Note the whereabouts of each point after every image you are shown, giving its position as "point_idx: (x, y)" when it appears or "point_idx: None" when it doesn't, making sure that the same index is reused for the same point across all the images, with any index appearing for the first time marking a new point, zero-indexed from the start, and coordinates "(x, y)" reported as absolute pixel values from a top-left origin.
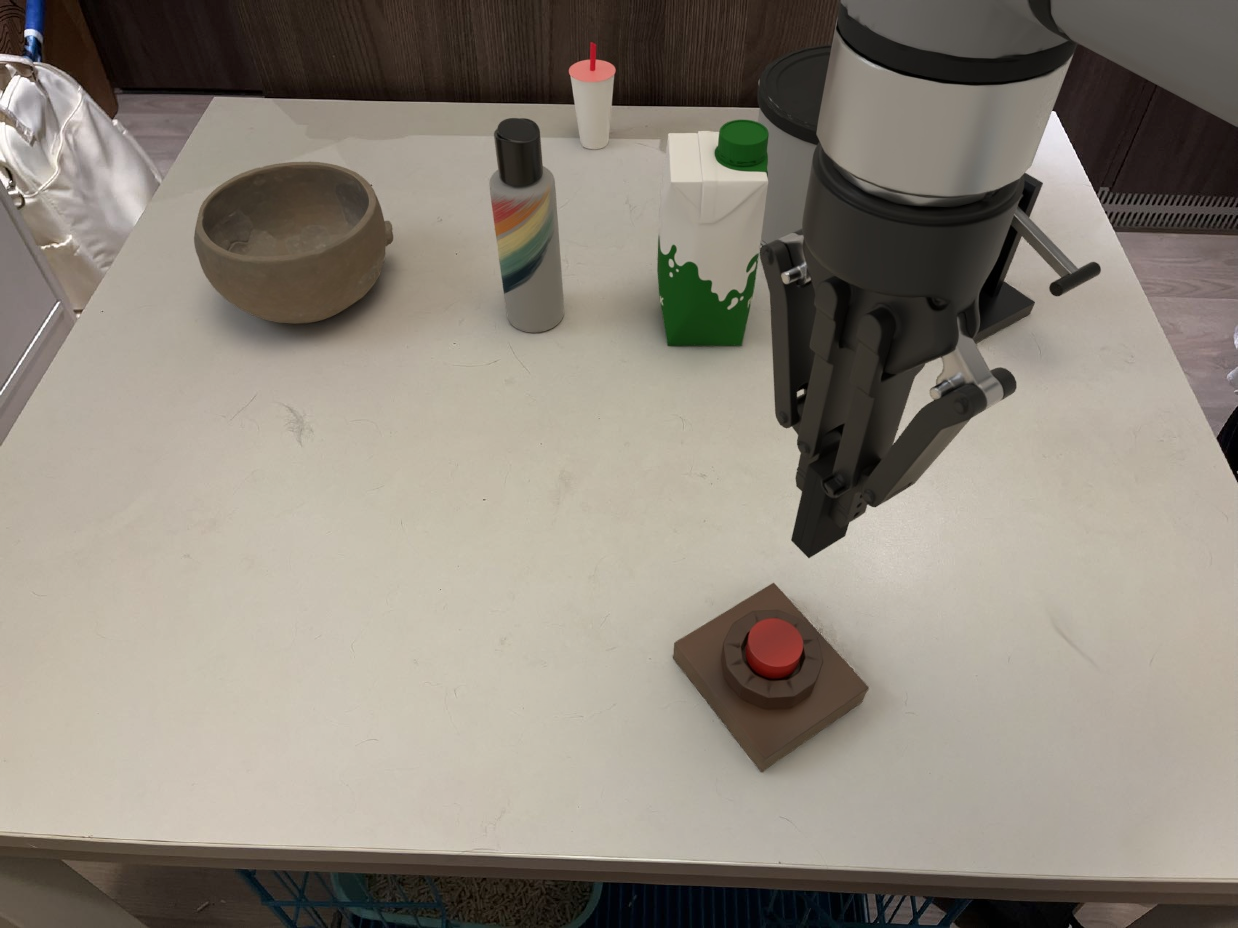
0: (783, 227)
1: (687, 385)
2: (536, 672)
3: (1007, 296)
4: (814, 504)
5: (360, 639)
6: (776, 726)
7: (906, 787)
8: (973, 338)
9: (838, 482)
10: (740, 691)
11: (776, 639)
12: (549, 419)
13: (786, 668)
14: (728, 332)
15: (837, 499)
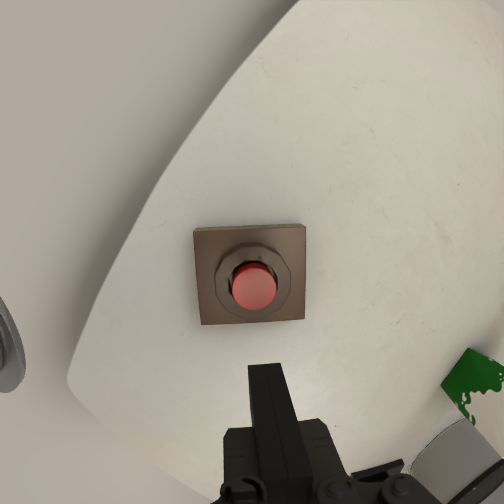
0: (465, 433)
1: (445, 345)
2: (341, 135)
3: None
4: (270, 430)
5: (408, 67)
6: (209, 253)
7: (145, 301)
8: (352, 478)
9: (243, 500)
10: (242, 245)
11: (255, 291)
12: (477, 255)
13: (232, 283)
14: (452, 384)
15: (249, 460)
